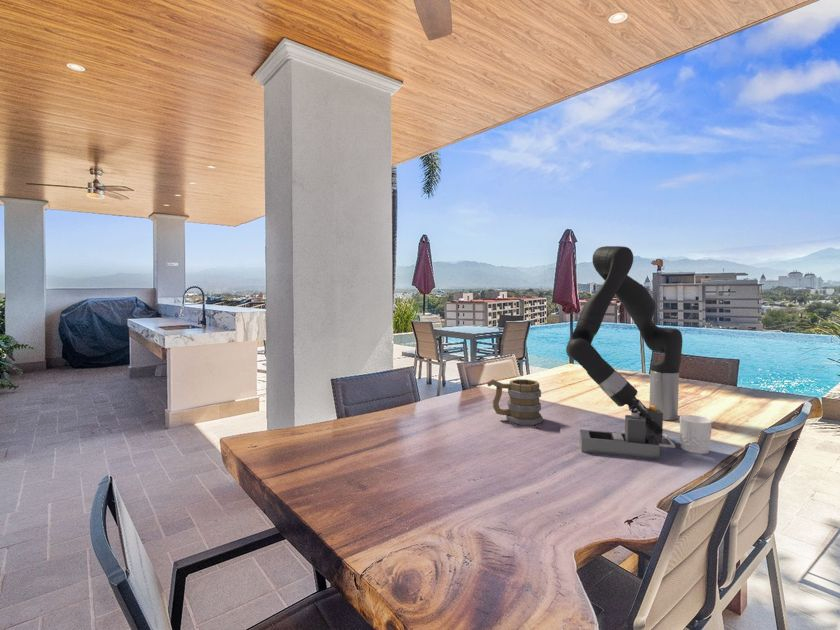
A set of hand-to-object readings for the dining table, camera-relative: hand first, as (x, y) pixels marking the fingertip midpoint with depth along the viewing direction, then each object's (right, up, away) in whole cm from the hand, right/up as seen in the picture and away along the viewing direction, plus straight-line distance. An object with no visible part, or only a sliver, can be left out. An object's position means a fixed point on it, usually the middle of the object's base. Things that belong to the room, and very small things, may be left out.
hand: (658, 428), depth 130 cm
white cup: (+7, -5, -6) cm, 11 cm away
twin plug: (-12, -4, -8) cm, 15 cm away
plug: (-1, -4, +1) cm, 5 cm away
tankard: (-39, -4, +26) cm, 47 cm away
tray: (-1, -5, +1) cm, 5 cm away
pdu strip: (-16, -5, -7) cm, 18 cm away
